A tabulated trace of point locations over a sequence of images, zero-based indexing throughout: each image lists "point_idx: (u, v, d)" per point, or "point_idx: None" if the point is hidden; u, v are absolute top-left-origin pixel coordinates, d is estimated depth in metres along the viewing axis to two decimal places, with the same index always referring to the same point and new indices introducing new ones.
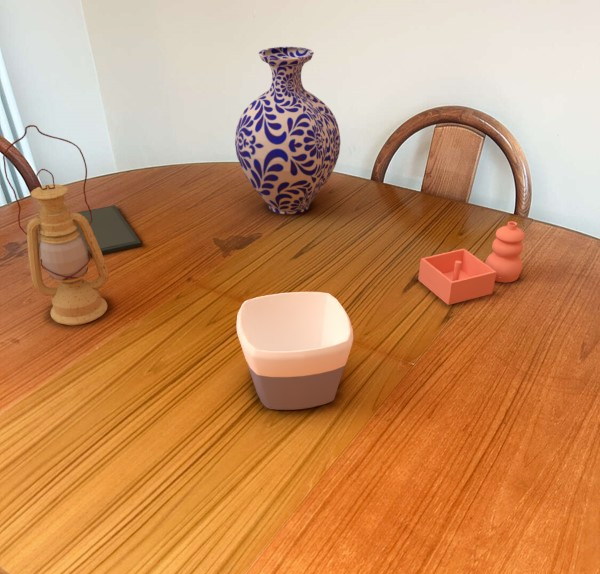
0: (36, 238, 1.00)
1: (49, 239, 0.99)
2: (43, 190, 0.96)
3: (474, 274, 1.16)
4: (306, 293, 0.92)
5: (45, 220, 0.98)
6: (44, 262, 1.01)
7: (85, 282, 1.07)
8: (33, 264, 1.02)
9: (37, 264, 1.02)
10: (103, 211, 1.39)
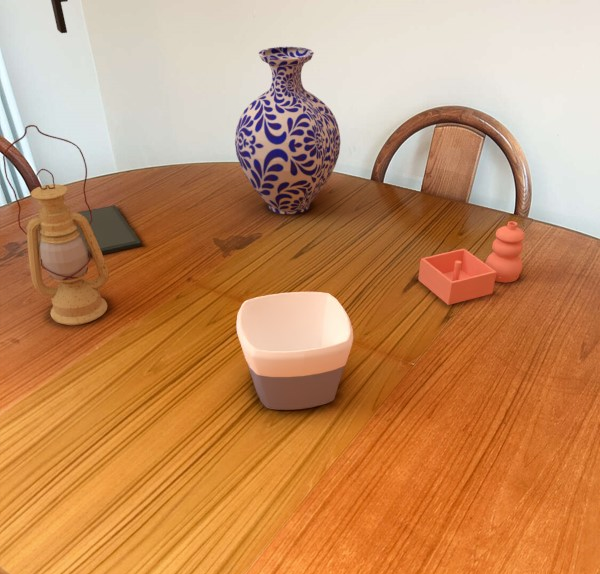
0: (36, 238, 1.00)
1: (49, 239, 0.99)
2: (43, 190, 0.96)
3: (474, 274, 1.16)
4: (306, 293, 0.92)
5: (45, 220, 0.98)
6: (44, 262, 1.01)
7: (85, 282, 1.07)
8: (33, 264, 1.02)
9: (37, 264, 1.02)
10: (103, 211, 1.39)
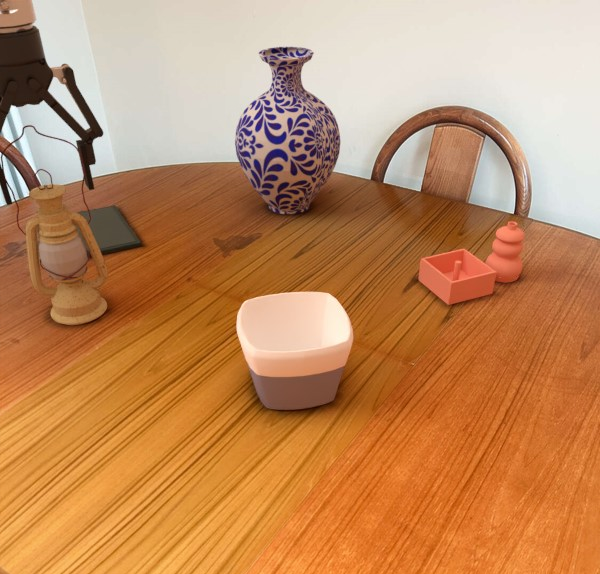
0: (35, 238, 1.00)
1: (47, 240, 0.99)
2: (41, 190, 0.96)
3: (474, 274, 1.16)
4: (306, 293, 0.92)
5: (43, 220, 0.97)
6: (43, 262, 1.01)
7: (85, 282, 1.07)
8: (32, 264, 1.02)
9: (36, 265, 1.02)
10: (103, 211, 1.39)
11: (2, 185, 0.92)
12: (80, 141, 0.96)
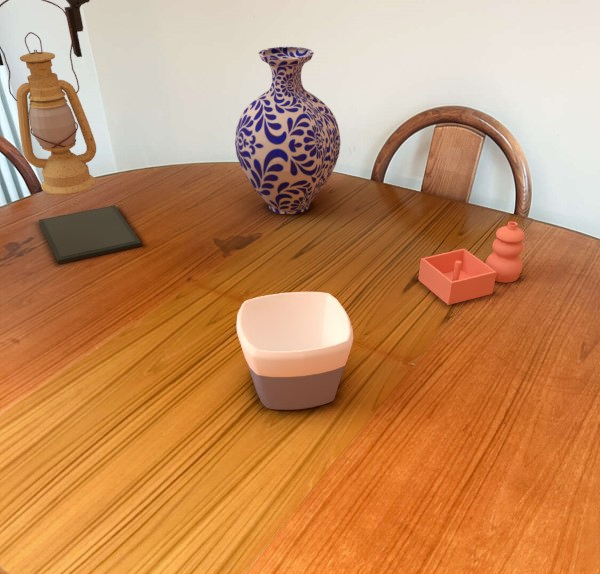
0: (26, 105, 1.05)
1: (37, 105, 1.04)
2: (31, 54, 1.01)
3: (474, 274, 1.16)
4: (306, 293, 0.92)
5: (33, 85, 1.03)
6: (33, 130, 1.07)
7: (74, 155, 1.12)
8: (23, 132, 1.07)
9: (27, 133, 1.08)
10: (103, 211, 1.39)
11: None
12: (68, 7, 1.01)
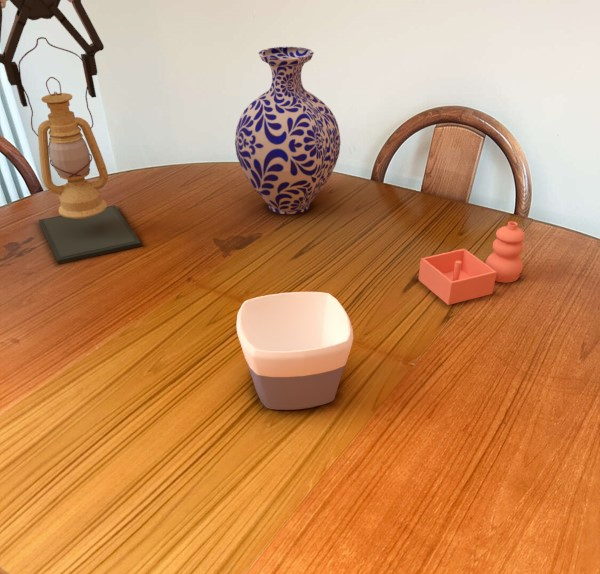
0: (46, 139, 1.19)
1: (57, 140, 1.17)
2: (52, 96, 1.15)
3: (474, 274, 1.16)
4: (306, 293, 0.92)
5: (53, 122, 1.16)
6: (53, 161, 1.20)
7: (88, 182, 1.25)
8: (43, 163, 1.21)
9: (47, 164, 1.21)
10: (103, 211, 1.39)
11: (19, 88, 1.11)
12: (84, 54, 1.14)
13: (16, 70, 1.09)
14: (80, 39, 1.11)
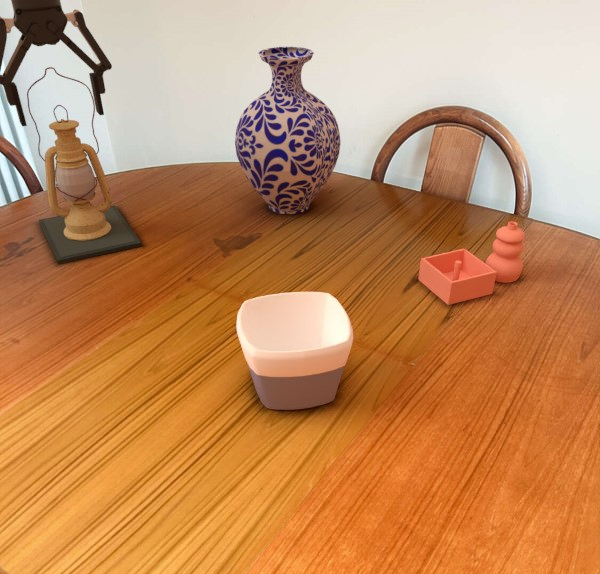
0: (53, 165, 1.22)
1: (63, 165, 1.20)
2: (59, 123, 1.18)
3: (474, 274, 1.16)
4: (306, 293, 0.92)
5: (60, 149, 1.19)
6: (59, 185, 1.23)
7: (93, 205, 1.28)
8: (50, 187, 1.23)
9: (53, 188, 1.24)
10: None
11: (18, 109, 1.13)
12: (92, 73, 1.16)
13: (15, 91, 1.11)
14: (88, 60, 1.13)
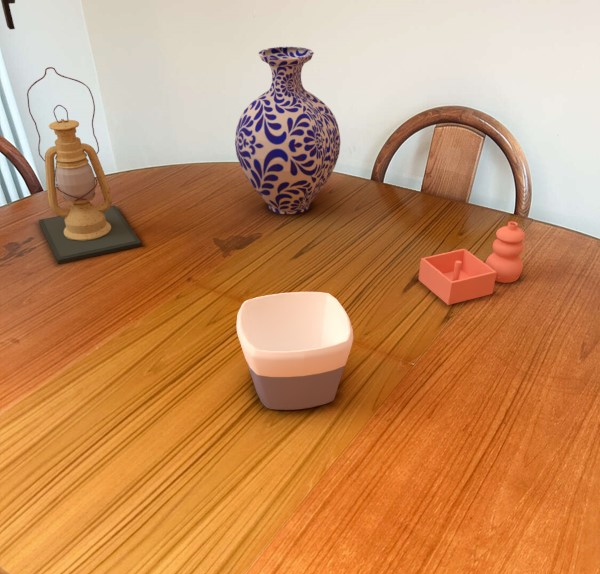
0: (53, 165, 1.22)
1: (63, 165, 1.20)
2: (59, 123, 1.18)
3: (474, 274, 1.16)
4: (306, 293, 0.92)
5: (60, 148, 1.19)
6: (59, 185, 1.23)
7: (93, 205, 1.28)
8: (50, 187, 1.24)
9: (53, 188, 1.24)
10: None
11: None
12: None
13: None
14: None
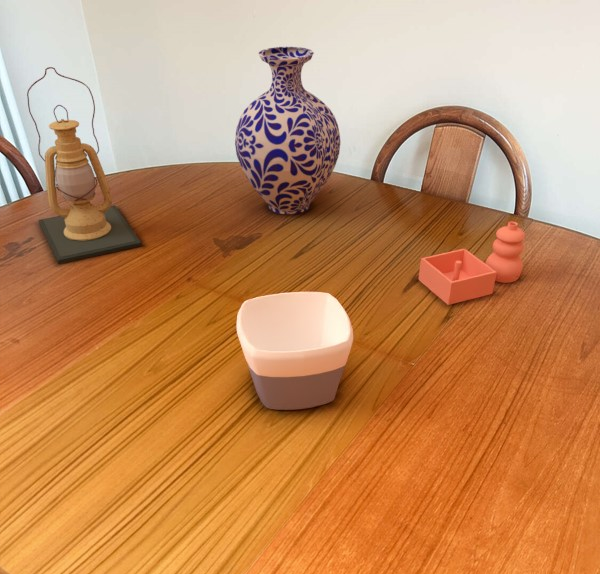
0: (53, 165, 1.22)
1: (63, 165, 1.20)
2: (59, 123, 1.18)
3: (474, 274, 1.16)
4: (306, 293, 0.92)
5: (60, 148, 1.19)
6: (59, 185, 1.23)
7: (93, 205, 1.28)
8: (50, 187, 1.24)
9: (53, 188, 1.24)
10: None
11: None
12: None
13: None
14: None
